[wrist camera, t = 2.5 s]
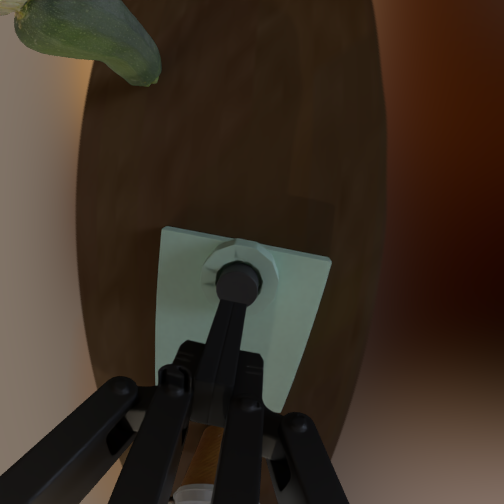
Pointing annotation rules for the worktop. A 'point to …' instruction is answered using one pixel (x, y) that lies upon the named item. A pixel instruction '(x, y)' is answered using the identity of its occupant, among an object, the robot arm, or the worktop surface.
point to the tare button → (238, 284)
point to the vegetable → (88, 34)
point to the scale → (257, 314)
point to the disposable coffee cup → (201, 470)
